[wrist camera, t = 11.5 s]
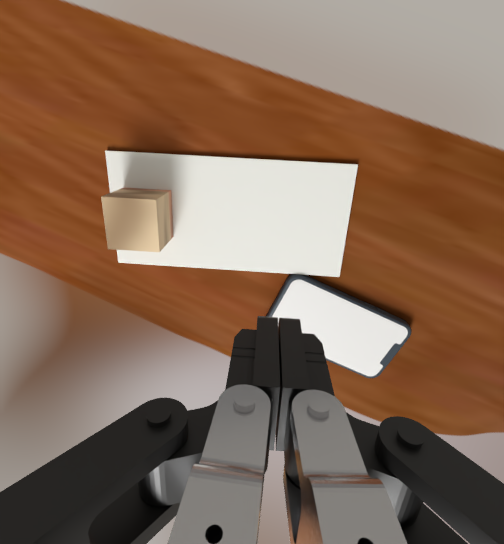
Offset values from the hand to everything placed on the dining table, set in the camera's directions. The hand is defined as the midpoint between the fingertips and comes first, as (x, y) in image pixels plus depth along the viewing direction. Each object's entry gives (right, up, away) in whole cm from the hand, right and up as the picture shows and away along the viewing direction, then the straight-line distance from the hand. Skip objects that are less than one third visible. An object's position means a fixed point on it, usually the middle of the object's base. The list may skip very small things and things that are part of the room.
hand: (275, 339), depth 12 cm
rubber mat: (-3, +8, +24) cm, 25 cm away
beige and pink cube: (-12, +7, +19) cm, 24 cm away
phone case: (+9, -4, +29) cm, 31 cm away
